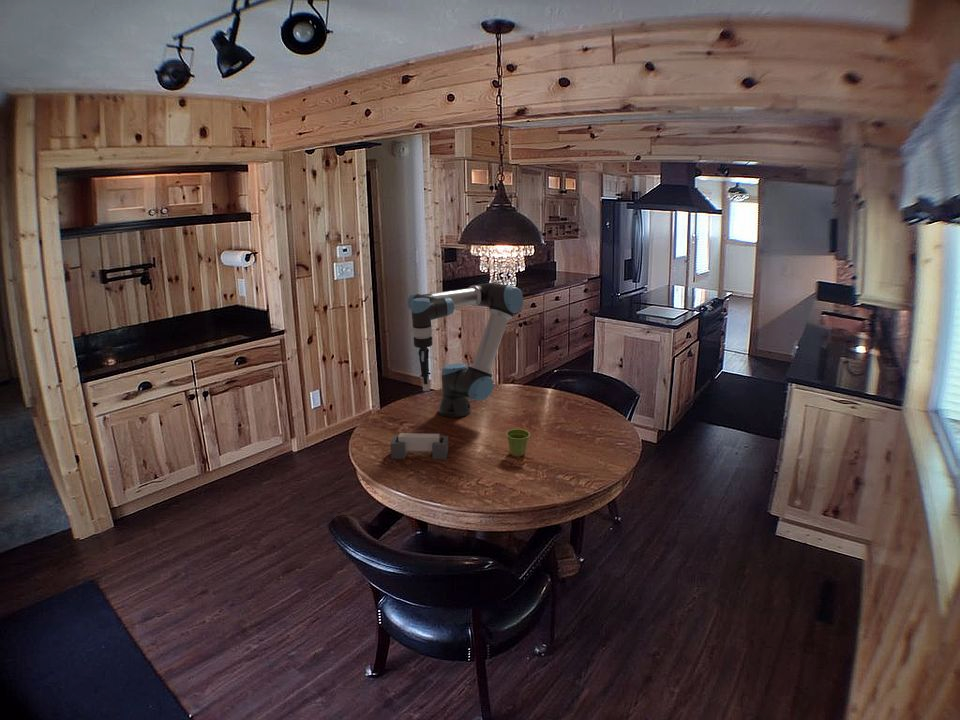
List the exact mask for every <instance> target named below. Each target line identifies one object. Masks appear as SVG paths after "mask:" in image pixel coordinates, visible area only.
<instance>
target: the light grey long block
mask: <svg viewBox="0 0 960 720" xmlns="http://www.w3.org/2000/svg"><path fill="white" fill-rule="evenodd" d="M398 435H399V436H398V442H405V451H408V452H432V443H440V436H441V435H440V433H416V432H415V433H412V432H411V433H407V432H405V433H403V432H402V433H400V432H399V433H398Z"/></svg>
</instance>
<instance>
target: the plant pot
mask: <svg viewBox="0 0 960 720" xmlns="http://www.w3.org/2000/svg"><path fill="white" fill-rule="evenodd" d="M505 434H506V435H505V436H507V440H508V446H509V447H508V448H509V454H510V455H512V456H513V457H522V456H524V455H525V454H526V451H527V450H526V449H527V444H528V440H529V437H530V435H531V433H530V432H529V431H528V430H525V429H520V428H514V429H510V430H509V429H508V431H506V433H505Z"/></svg>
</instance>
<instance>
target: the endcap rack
mask: <svg viewBox="0 0 960 720" xmlns="http://www.w3.org/2000/svg"><path fill="white" fill-rule="evenodd" d="M398 436H399V434H397V435H395V434H394V435H393V437H392V440H391V442H390V458H391V460H392V459H393V460H394V459H396V460H397V459H398V460H400V459H401V460H405V459H406V457H407V454H408V452H409V451H405V442H398ZM439 436H440V443H432V451H431V454H432V456H431V457H432V460H447V458H448V454H449V435H439Z"/></svg>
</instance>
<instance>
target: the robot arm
mask: <svg viewBox="0 0 960 720" xmlns="http://www.w3.org/2000/svg"><path fill="white" fill-rule="evenodd" d="M406 301H407V302H406V303H407V304H406V305H407V307H408V309H409V310H410V313H411V321H412V328H411V332H413V333H412V335H413V347H415V348H419V349H418V360H419V364H420V365H419V366H420V372H421V373H420V376H419V377H420V378H421V380H422V381H421V382H422V392H430V390H431V389H430V386H431V385H430V375H431V372H429V371H430V369H429V368H430V366H429V365H430V364H429V357H430V355H429V353H430V349H429V348H430V347H432V346H433V337H432V335H433V328H432V327H433V326H432V320H436V319H440V318H444V317H446V318H447V316H450V315H452V314H454V312H455V308H458V307H463V306H472V307H479V306H480V307H485V308H486V307H487V308H488V311H489V314H490V315H489V318H488V319H487V323H486V325H485V328H484V330H483V331H484V332H483V334H482V337H481V339H480V342H479V345H478V348H477V351H476V353H475V356H474V359H473V362H472V363H471V364H469V365H468V366H467V364H465V363H450V364H447V365H444V366H443V367H442V368H441V392H442V393H441V394H442V395H441V400H440V402H439V406H438V413H439V414H440V415H441V416H443V417H448V418H462V417H465V416H467V415H469V414H471V412H472V406H471V403H470V401H469V399H470V400H472V401H473V400H474V401H484V400H486V399H488V398H489V397H490V396H491V395H492V393H493V390H494V387H495V385H494V379H493V378H492V377H493V372H492V366H493V364H494V361H495V359H496V356H497V353H498V351H499V347H500V345H501V341H502V338H503V336H504V333H505V330H506V328H507V325H508V322H509V321H510V320H512V319H513V318H514V316H515V314H517V313H519V312H520V311H521V310H522V308H523V305H524V296H523V293H522V290H521V289H520V288H518V287H516V286H514V285H511V284H503V283H502V284H501V283H497V282H487V283H485V282H484V283H479V284H474V285H470V286H469V287H467V288H460V289H453V290H446V291H445V290H444V291H439V292H431V293H424V294H420V293H412V294H410V295H409V296H408V298H407V300H406Z"/></svg>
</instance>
